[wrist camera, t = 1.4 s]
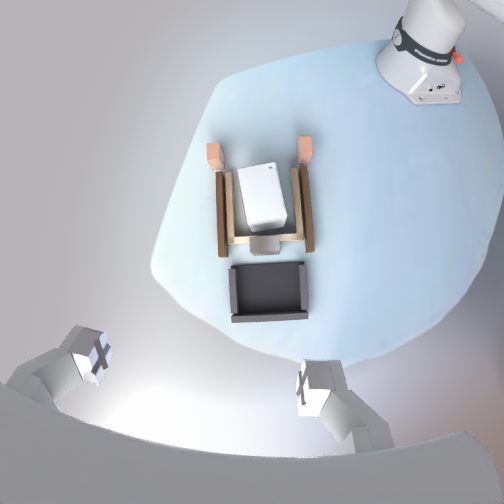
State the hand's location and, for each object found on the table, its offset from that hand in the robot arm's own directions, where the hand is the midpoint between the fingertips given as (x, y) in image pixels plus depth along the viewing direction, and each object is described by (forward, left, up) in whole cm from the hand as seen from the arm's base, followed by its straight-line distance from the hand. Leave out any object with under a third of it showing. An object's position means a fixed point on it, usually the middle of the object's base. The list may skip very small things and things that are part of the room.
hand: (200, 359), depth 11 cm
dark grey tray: (-2, 0, -37) cm, 37 cm away
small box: (-2, -14, -37) cm, 40 cm away
